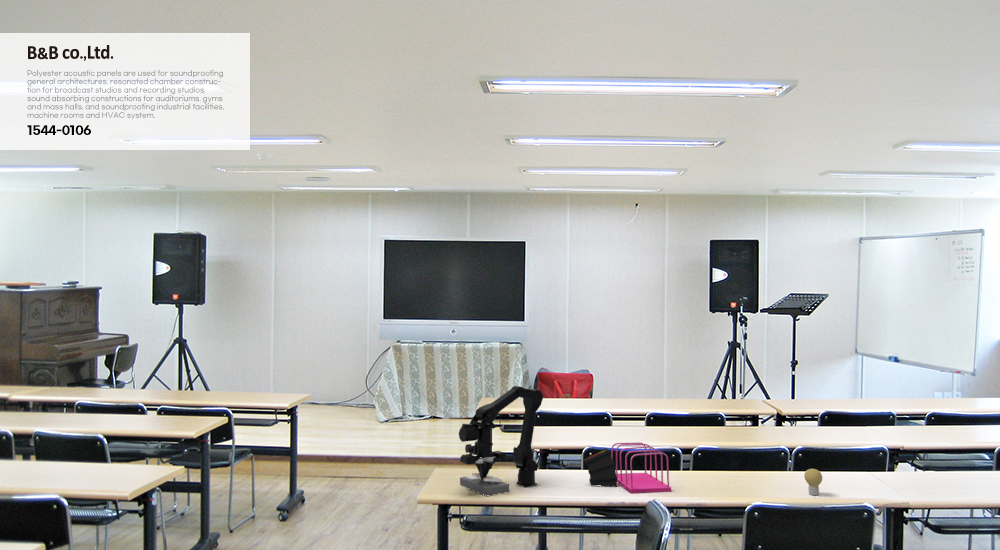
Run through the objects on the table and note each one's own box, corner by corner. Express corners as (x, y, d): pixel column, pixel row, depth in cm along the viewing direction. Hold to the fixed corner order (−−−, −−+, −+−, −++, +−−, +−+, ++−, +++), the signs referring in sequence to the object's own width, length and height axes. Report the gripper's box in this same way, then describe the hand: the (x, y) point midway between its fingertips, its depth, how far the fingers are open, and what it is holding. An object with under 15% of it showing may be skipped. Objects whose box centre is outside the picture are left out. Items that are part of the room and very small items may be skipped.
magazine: (624, 483, 256) (608, 449, 258) (595, 496, 257) (579, 462, 258) (623, 480, 260) (607, 447, 261) (595, 493, 260) (579, 460, 262)
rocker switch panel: (482, 481, 265) (482, 471, 265) (509, 491, 248) (509, 482, 249) (460, 484, 259) (460, 475, 259) (486, 496, 242) (486, 486, 242)
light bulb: (802, 494, 246) (801, 468, 247) (808, 491, 251) (807, 466, 251) (819, 497, 242) (818, 471, 242) (825, 494, 246) (824, 469, 247)
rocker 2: (496, 479, 253) (496, 477, 254) (501, 482, 250) (502, 479, 250) (479, 478, 249) (480, 476, 249) (485, 481, 246) (485, 478, 246)
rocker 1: (487, 476, 258) (488, 474, 259) (493, 479, 255) (493, 476, 255) (471, 475, 254) (472, 472, 254) (477, 477, 251) (477, 474, 251)
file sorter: (630, 493, 247) (630, 453, 248) (609, 478, 271) (609, 441, 273) (671, 492, 250) (671, 452, 251) (646, 476, 274) (646, 440, 275)
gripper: (492, 434, 261) (491, 472, 260) (453, 438, 250) (452, 477, 249) (507, 438, 252) (506, 478, 250) (468, 442, 241) (467, 484, 240)
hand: (483, 479), depth 248 cm, fingers closed
